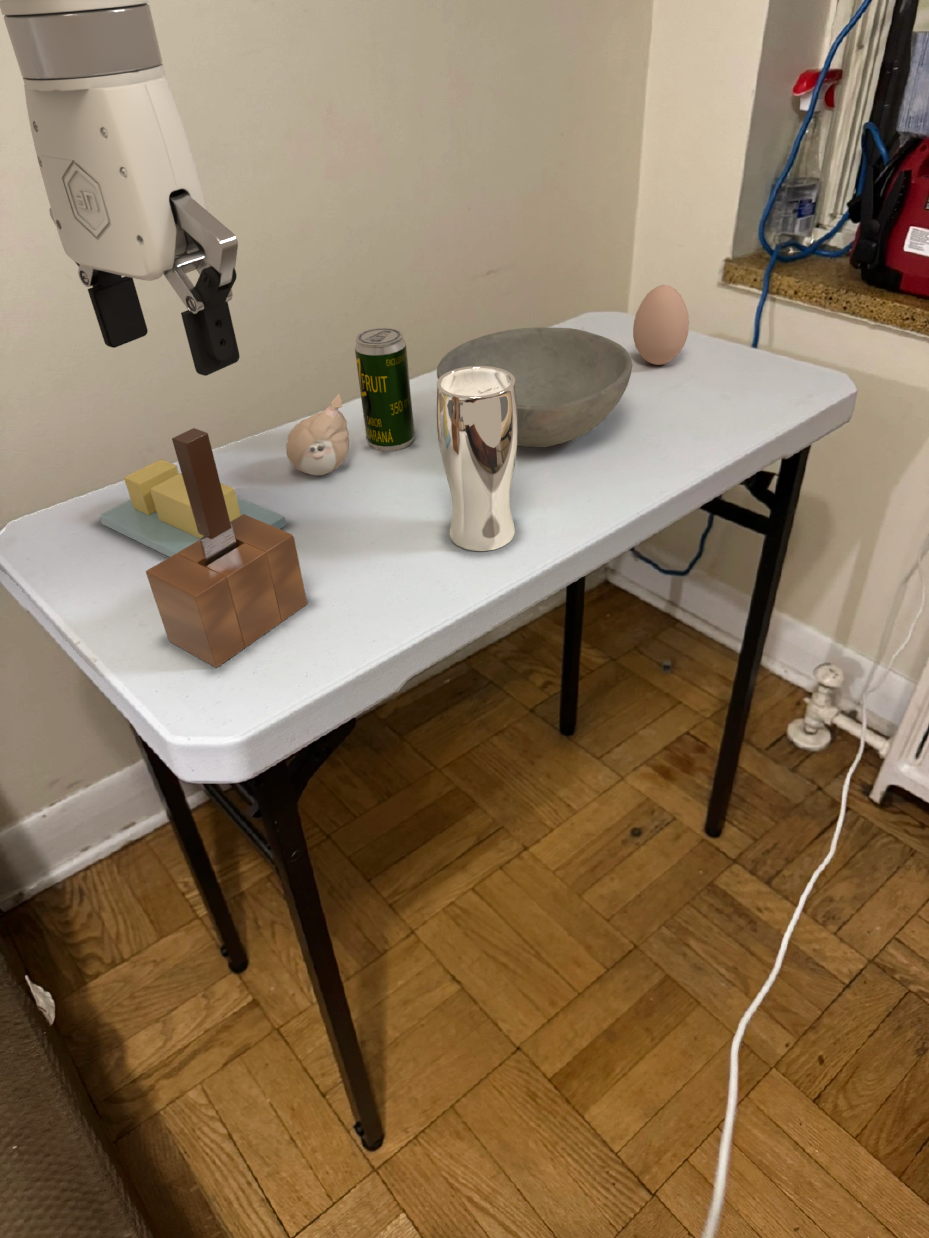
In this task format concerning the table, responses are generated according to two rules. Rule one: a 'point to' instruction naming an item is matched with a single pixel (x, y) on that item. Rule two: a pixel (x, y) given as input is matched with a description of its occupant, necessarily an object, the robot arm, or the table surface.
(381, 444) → the green soda can
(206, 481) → the knife
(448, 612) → the table surface
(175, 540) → the butter dish
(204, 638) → the knife block
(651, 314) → the egg
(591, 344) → the bowl
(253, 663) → the table surface
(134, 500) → the butter slice
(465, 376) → the beer glass
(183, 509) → the butter
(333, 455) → the garlic bulb
